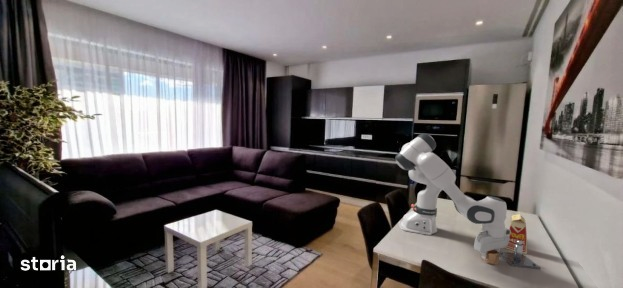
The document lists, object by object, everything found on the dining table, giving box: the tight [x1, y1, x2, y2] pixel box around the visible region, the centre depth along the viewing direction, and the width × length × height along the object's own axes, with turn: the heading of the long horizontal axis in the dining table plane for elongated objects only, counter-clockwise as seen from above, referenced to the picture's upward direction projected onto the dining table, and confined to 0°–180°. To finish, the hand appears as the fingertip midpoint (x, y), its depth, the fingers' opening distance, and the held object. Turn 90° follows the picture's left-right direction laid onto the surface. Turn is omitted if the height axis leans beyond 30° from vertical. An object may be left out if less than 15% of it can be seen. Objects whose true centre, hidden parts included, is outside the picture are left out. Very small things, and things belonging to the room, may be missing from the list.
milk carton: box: [503, 211, 528, 255], centre depth 133 cm, size 9×9×20 cm
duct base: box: [499, 240, 541, 270], centre depth 122 cm, size 12×12×10 cm
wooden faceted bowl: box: [480, 250, 500, 265], centre depth 121 cm, size 7×7×5 cm
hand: (489, 257), depth 121 cm, fingers closed on wooden faceted bowl, 7 cm apart
